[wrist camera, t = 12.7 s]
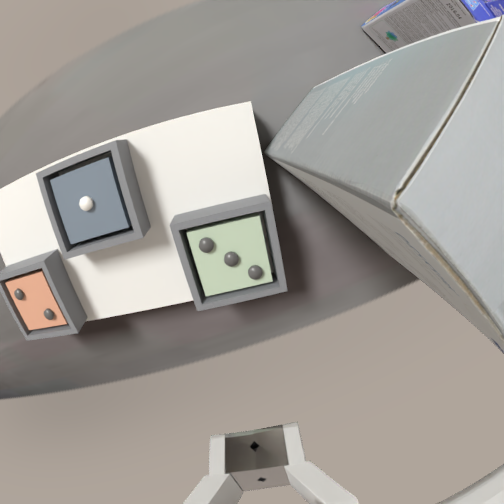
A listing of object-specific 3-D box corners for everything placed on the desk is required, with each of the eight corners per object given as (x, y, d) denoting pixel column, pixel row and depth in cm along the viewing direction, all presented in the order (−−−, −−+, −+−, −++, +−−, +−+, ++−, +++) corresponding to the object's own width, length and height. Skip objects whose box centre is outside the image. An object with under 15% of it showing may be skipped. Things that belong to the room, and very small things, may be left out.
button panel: (246, 105, 22) (254, 97, 17) (279, 264, 28) (292, 294, 22) (0, 191, 22) (-34, 206, 17) (48, 314, 27) (26, 344, 22)
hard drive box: (428, 192, 26) (595, 276, 8) (384, 251, 28) (527, 386, 10) (312, 81, 22) (511, 10, 3) (258, 152, 24) (387, 222, 5)
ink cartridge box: (452, 75, 22) (564, 71, 9) (427, 105, 23) (549, 111, 10) (388, 0, 19) (489, -51, 5) (358, 27, 20) (464, -30, 7)
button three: (256, 208, 22) (260, 217, 20) (268, 269, 24) (273, 283, 22) (189, 224, 22) (186, 234, 20) (206, 283, 24) (205, 298, 22)
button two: (52, 261, 22) (40, 273, 20) (75, 311, 24) (65, 325, 22) (16, 273, 22) (3, 284, 20) (38, 318, 24) (27, 332, 22)
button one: (117, 154, 20) (106, 157, 17) (136, 219, 21) (127, 228, 19) (62, 175, 19) (48, 180, 17) (81, 235, 21) (69, 246, 19)
